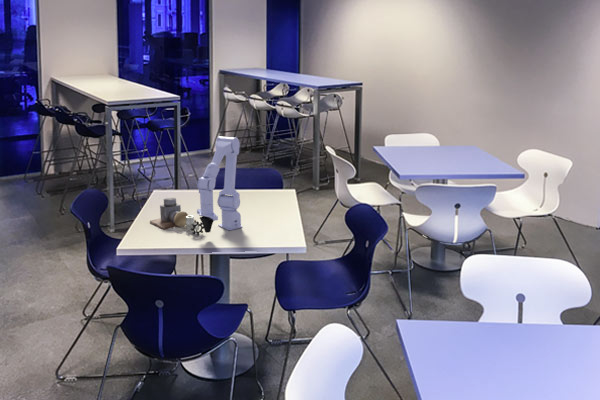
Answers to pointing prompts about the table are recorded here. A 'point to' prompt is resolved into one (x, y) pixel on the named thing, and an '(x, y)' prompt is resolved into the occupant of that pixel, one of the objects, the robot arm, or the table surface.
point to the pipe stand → (170, 215)
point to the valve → (193, 225)
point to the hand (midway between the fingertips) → (207, 231)
